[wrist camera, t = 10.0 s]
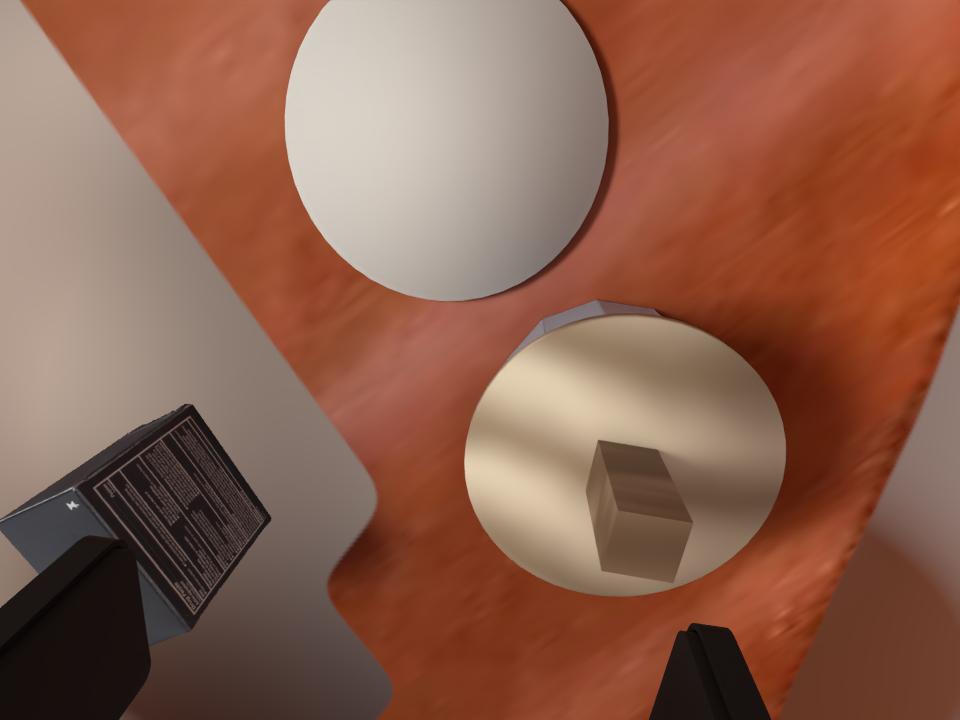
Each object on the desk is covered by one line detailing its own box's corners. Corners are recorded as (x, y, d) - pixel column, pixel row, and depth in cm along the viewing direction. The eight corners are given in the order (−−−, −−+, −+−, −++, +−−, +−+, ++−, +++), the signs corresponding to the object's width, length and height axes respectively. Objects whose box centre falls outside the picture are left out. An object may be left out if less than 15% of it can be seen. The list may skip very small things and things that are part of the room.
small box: (121, 434, 38) (-18, 524, 29) (193, 399, 37) (73, 481, 27) (206, 547, 41) (106, 665, 31) (275, 519, 40) (194, 633, 30)
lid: (490, 288, 26) (479, 328, 19) (823, 341, 26) (928, 400, 19) (448, 557, 31) (429, 660, 25) (724, 604, 31) (778, 721, 24)
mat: (293, -72, 28) (289, -77, 27) (642, -21, 27) (645, -25, 27) (285, 274, 34) (281, 275, 33) (570, 320, 33) (571, 322, 33)
